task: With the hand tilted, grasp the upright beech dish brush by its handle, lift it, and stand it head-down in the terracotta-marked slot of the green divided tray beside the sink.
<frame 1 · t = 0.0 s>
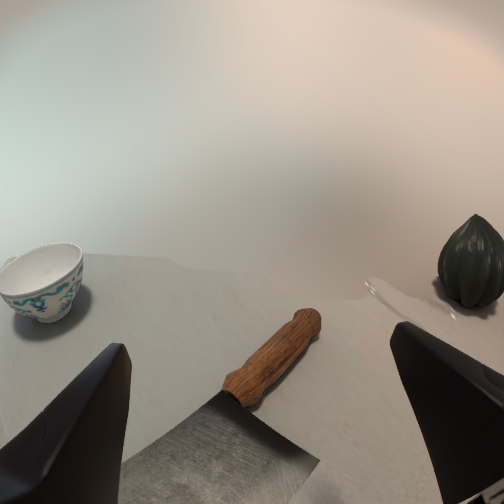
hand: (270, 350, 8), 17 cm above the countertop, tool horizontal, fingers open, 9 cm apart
meat cleaver: (250, 447, 19), on the countertop
chinaware: (54, 310, 33), on the countertop
squash: (464, 295, 37), on the countertop
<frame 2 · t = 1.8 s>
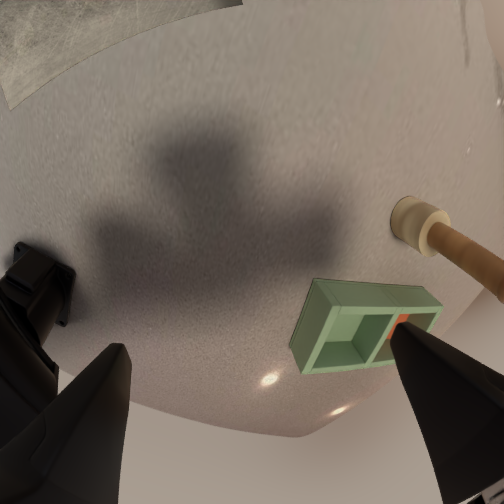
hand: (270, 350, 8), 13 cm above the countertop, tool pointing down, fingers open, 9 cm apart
green divided tray: (363, 315, 26), on the countertop
dish brush: (407, 217, 22), on the countertop
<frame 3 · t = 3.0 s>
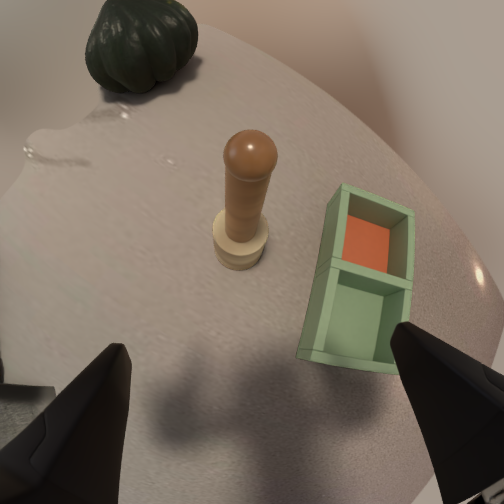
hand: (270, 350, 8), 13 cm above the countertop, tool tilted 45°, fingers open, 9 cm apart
meat cleaver: (22, 403, 16), on the countertop
green divided tray: (353, 285, 23), on the countertop
dish brush: (238, 247, 23), on the countertop
squash: (146, 76, 30), on the countertop
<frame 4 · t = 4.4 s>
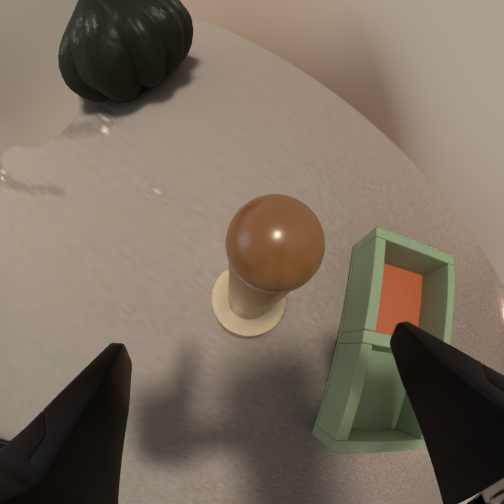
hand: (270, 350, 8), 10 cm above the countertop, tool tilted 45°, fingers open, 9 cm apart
green divided tray: (380, 347, 18), on the countertop
dish brush: (244, 308, 18), on the countertop
squash: (132, 81, 25), on the countertop
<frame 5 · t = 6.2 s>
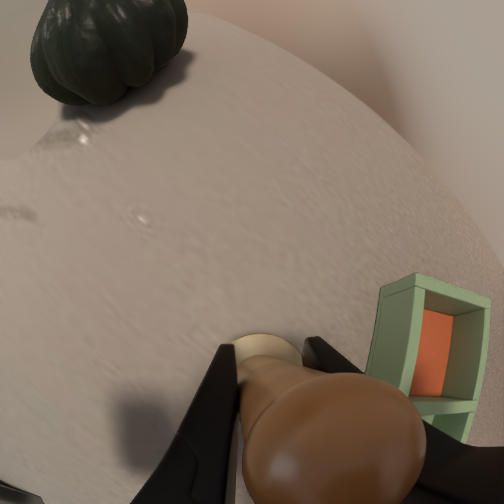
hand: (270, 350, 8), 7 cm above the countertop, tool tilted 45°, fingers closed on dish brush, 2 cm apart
meat cleaver: (11, 497, 7), on the countertop
green divided tray: (404, 400, 14), on the countertop
dish brush: (252, 370, 14), on the countertop, touching gripper
squash: (118, 80, 21), on the countertop
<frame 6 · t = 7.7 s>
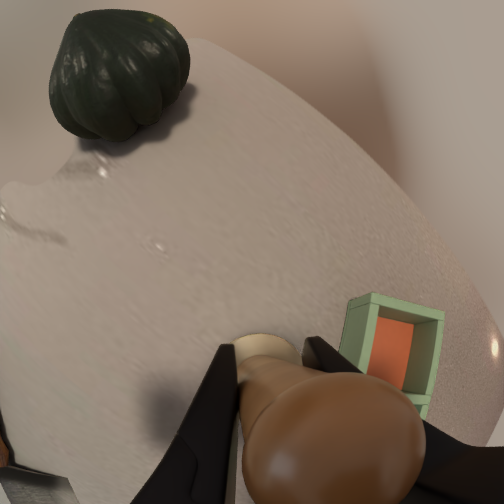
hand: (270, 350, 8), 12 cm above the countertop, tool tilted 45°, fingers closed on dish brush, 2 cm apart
meat cleaver: (38, 482, 12), on the countertop
green divided tray: (369, 392, 19), on the countertop
dish brush: (252, 370, 14), point 5 cm above the countertop, touching gripper
squash: (129, 113, 26), on the countertop
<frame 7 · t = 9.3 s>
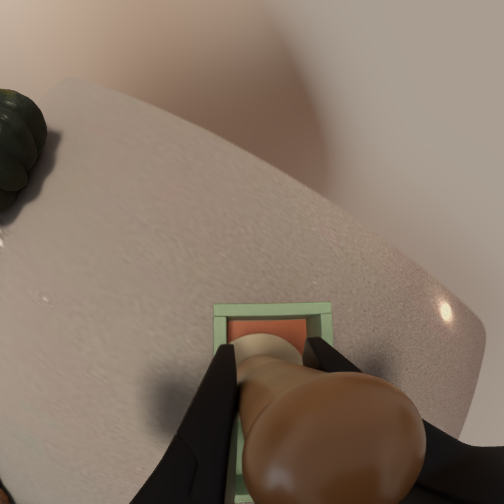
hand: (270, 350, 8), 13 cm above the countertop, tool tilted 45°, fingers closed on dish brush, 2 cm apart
green divided tray: (267, 401, 18), on the countertop
dish brush: (251, 370, 14), point 5 cm above the countertop, touching gripper
squash: (13, 178, 23), on the countertop
when the fingers open (8 cm above the countertop, at t = 11.4 s): dish brush stays where it is, resting on green divided tray.
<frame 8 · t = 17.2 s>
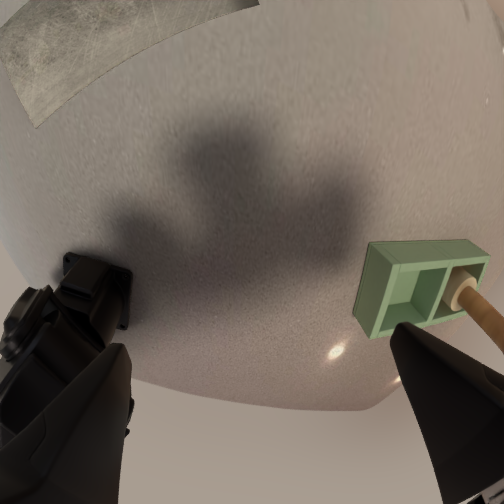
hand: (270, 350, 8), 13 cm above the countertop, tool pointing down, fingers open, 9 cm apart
green divided tray: (418, 274, 24), on the countertop
dish brush: (442, 274, 24), point 1 cm above the countertop, touching green divided tray
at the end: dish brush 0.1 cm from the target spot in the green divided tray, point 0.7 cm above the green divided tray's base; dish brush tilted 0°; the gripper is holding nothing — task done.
